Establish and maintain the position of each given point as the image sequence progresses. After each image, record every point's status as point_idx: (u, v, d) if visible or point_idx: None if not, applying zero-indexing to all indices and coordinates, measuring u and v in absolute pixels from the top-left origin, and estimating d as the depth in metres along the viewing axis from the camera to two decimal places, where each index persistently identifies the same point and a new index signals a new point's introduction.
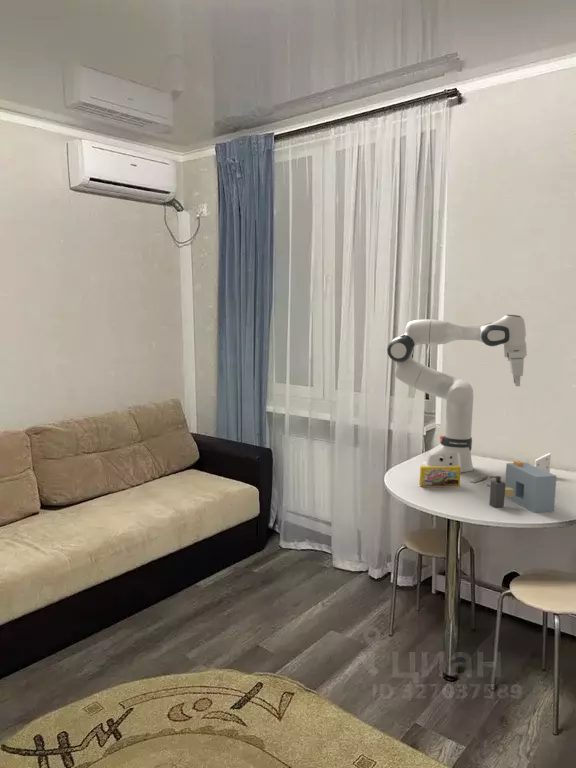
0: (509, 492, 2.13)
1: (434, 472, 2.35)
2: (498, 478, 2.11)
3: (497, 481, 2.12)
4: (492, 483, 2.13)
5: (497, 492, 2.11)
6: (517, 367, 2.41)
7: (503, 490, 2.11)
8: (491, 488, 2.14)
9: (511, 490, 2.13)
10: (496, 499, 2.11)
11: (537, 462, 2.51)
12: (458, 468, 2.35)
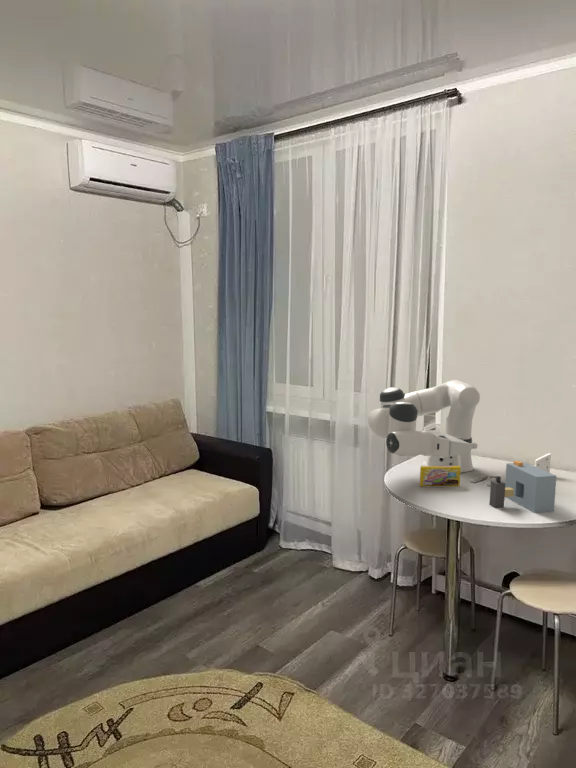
0: (509, 492, 2.13)
1: (434, 472, 2.35)
2: (498, 478, 2.11)
3: (497, 481, 2.12)
4: (492, 483, 2.13)
5: (497, 492, 2.11)
6: (461, 449, 1.96)
7: (503, 490, 2.11)
8: (491, 488, 2.14)
9: (511, 490, 2.13)
10: (496, 499, 2.11)
11: (537, 462, 2.51)
12: (458, 468, 2.35)
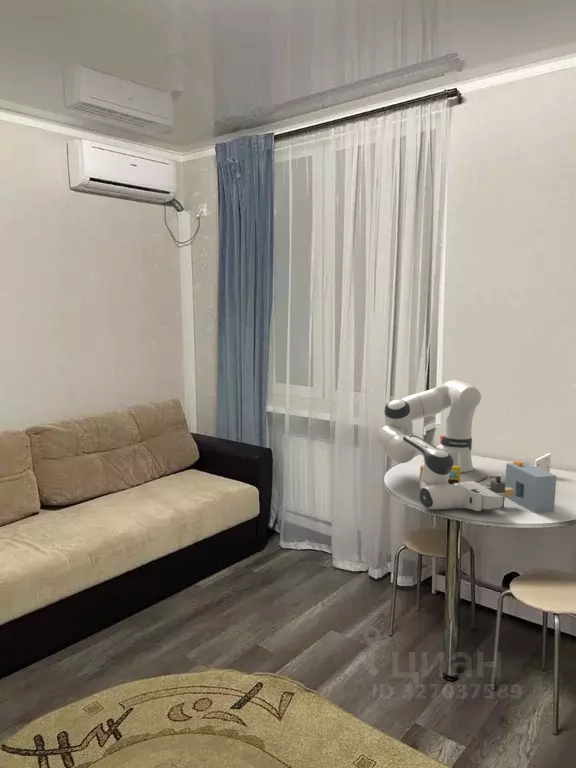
0: (509, 492, 2.13)
1: None
2: (498, 478, 2.11)
3: (497, 481, 2.12)
4: (492, 483, 2.13)
5: (497, 492, 2.11)
6: (494, 503, 2.02)
7: (503, 490, 2.11)
8: (491, 488, 2.14)
9: (511, 490, 2.13)
10: None
11: (537, 462, 2.51)
12: (458, 468, 2.35)
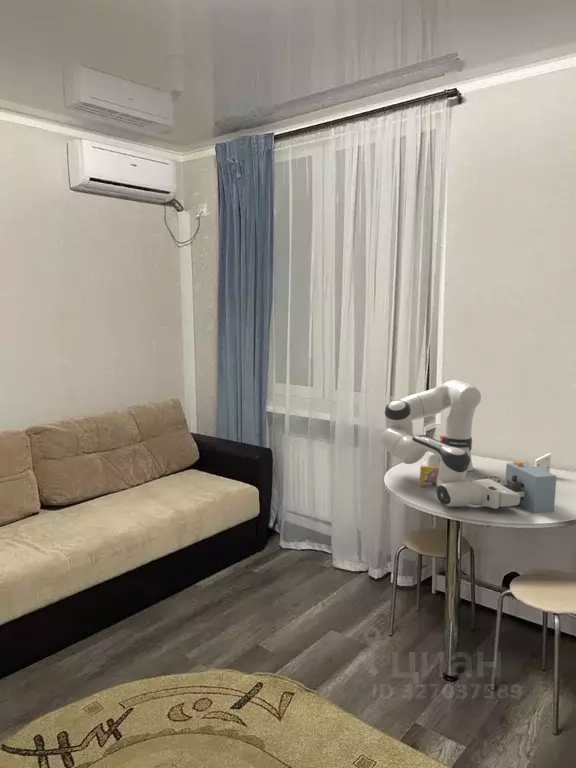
0: None
1: (434, 472, 2.35)
2: (514, 477, 2.13)
3: (513, 480, 2.13)
4: (508, 482, 2.14)
5: None
6: (511, 500, 2.03)
7: (519, 489, 2.13)
8: (507, 487, 2.15)
9: None
10: None
11: (537, 462, 2.51)
12: None
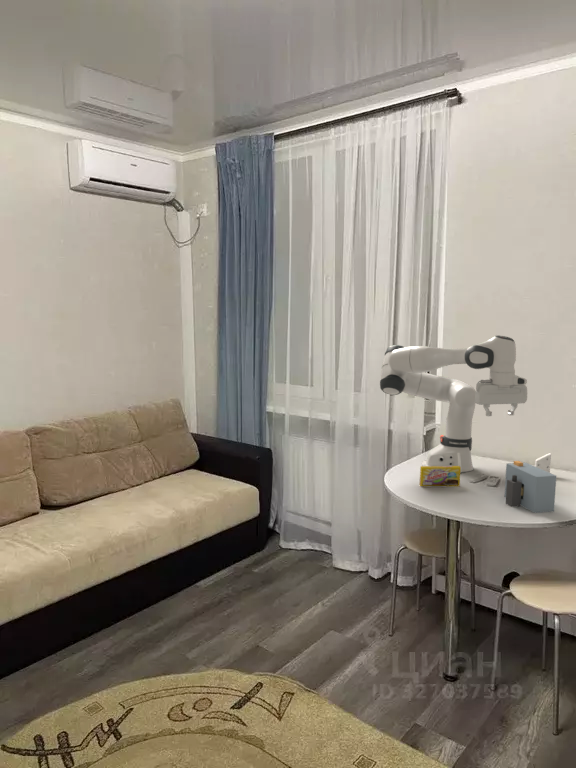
0: None
1: (434, 472, 2.35)
2: (514, 477, 2.13)
3: (513, 480, 2.13)
4: (508, 482, 2.14)
5: (513, 491, 2.12)
6: None
7: (519, 489, 2.13)
8: (507, 487, 2.15)
9: None
10: (513, 498, 2.13)
11: (537, 462, 2.51)
12: (458, 468, 2.35)
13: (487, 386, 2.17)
